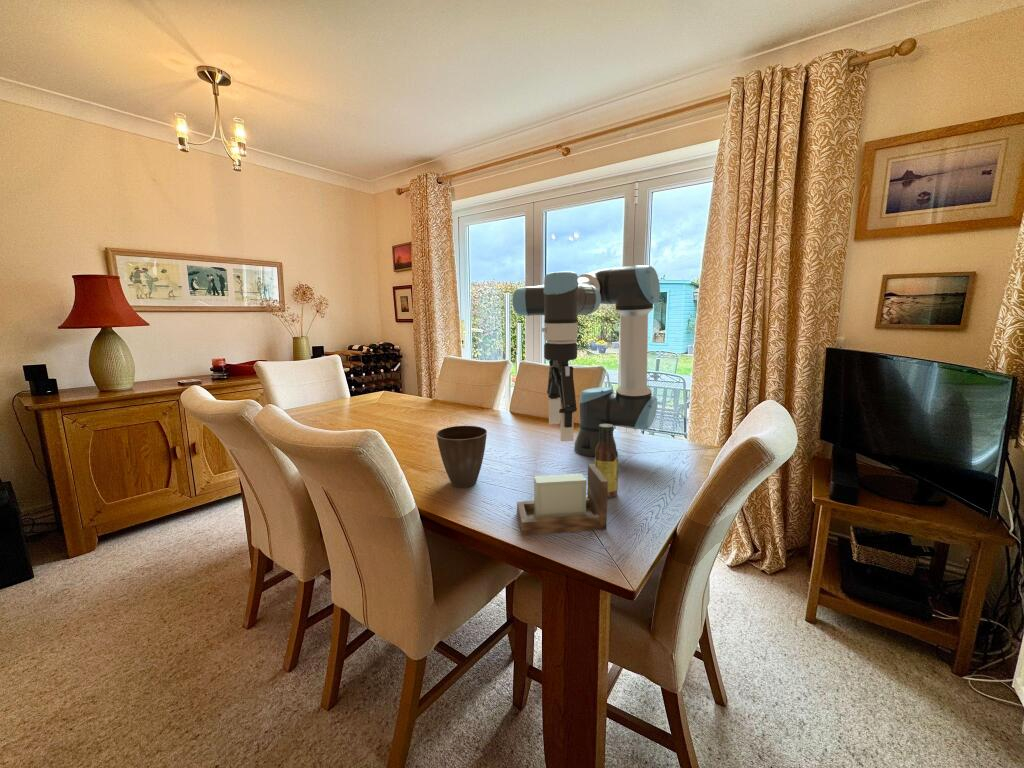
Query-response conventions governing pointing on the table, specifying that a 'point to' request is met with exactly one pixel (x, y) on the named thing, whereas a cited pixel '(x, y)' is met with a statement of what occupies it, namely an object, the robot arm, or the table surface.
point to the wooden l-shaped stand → (590, 521)
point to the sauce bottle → (607, 458)
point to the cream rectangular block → (559, 495)
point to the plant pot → (462, 453)
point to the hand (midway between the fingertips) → (560, 431)
